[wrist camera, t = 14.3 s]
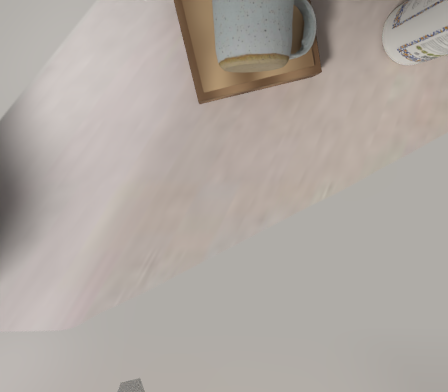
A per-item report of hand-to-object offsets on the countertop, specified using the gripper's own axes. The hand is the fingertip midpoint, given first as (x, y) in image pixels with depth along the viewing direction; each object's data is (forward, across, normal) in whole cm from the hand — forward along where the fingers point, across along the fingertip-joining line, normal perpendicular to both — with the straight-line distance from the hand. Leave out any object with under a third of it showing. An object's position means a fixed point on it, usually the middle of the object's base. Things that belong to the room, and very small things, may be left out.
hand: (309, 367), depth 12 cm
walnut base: (+29, +5, +19) cm, 35 cm away
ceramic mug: (+26, +6, +18) cm, 32 cm away
